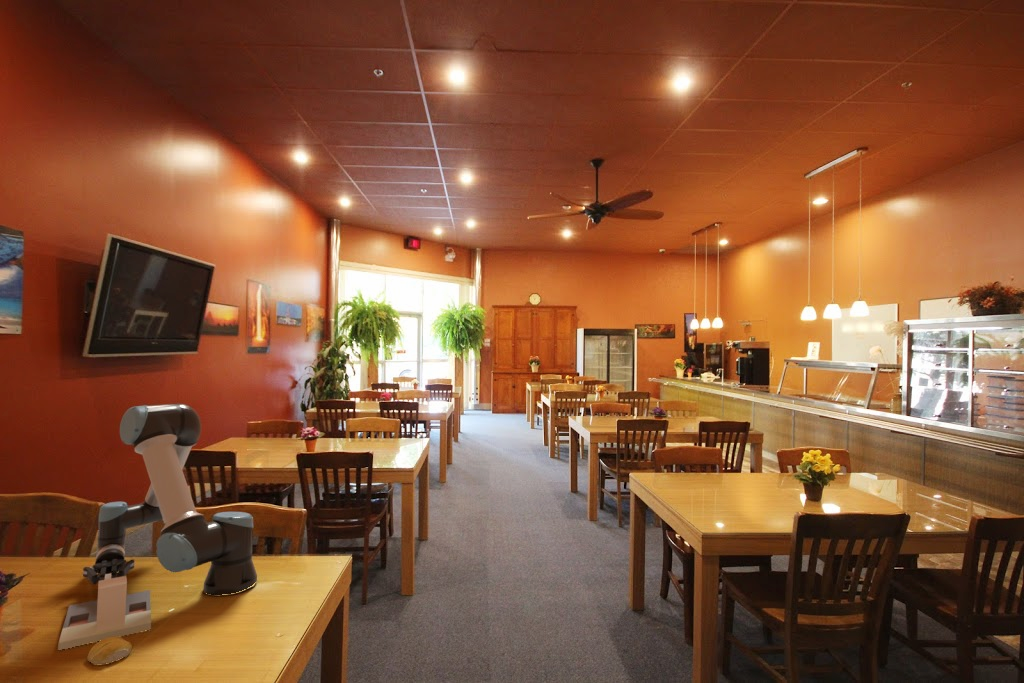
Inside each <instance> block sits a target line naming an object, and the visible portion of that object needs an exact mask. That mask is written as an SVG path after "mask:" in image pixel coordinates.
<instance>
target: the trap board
mask: <svg viewBox="0 0 1024 683" xmlns="http://www.w3.org/2000/svg"><path fill="white" fill-rule="evenodd" d="M97 604H98V599H96V600H90V601H86V602H85V601H84V602H81V603H74V604H69V605H68V608H67V613H66V615H65V616H66V617H65V620H64V622H63V626H62V629H63V628H67V627H72V626H76V625H81V624H86V623H91V622H96V621H97ZM151 604H152V602H151V590H150V589H149V590H143V591H138V592H133V593H126V613H125V615H129V614H134V613H139V612H144V611H149V610H151V611H152V605H151Z"/></svg>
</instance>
